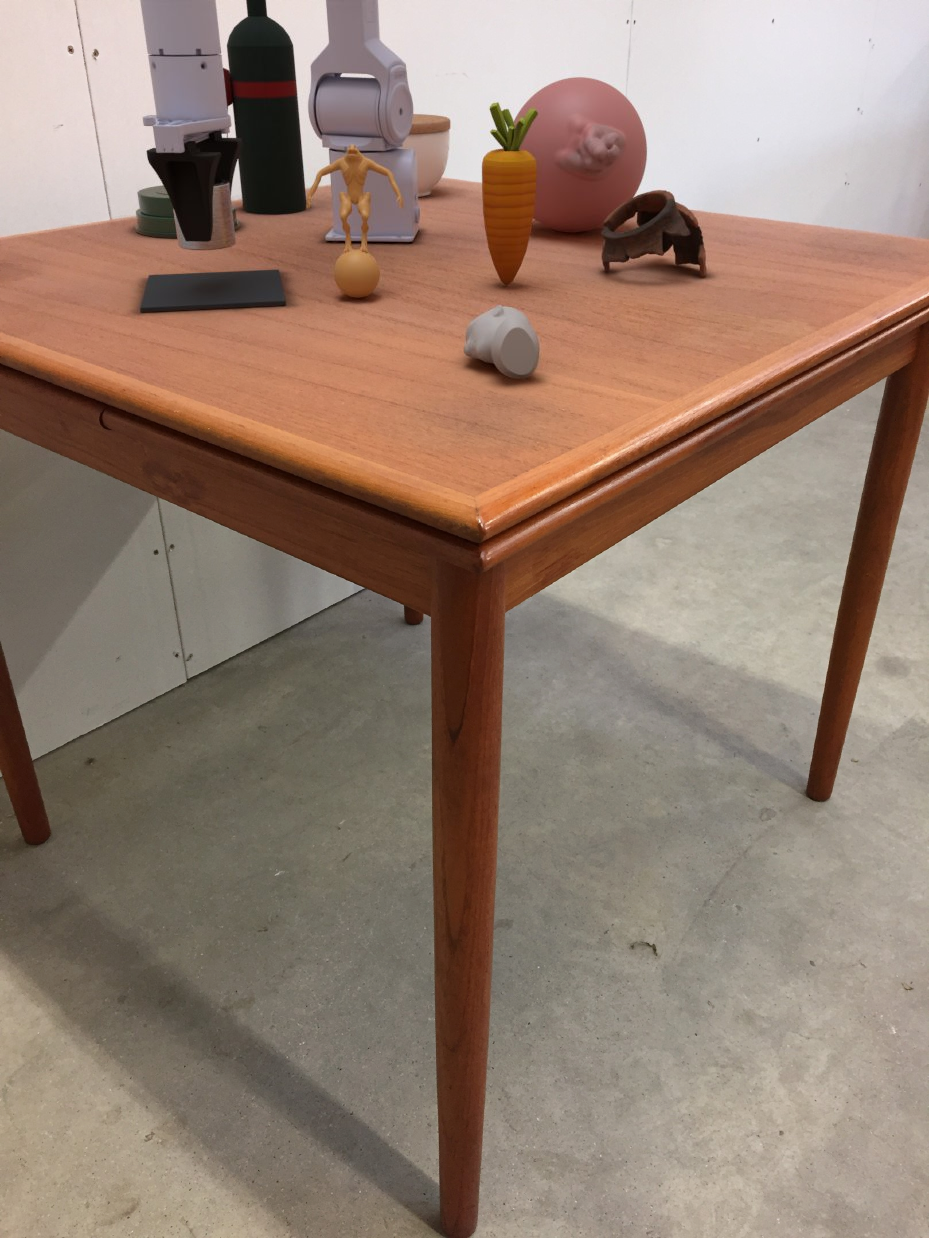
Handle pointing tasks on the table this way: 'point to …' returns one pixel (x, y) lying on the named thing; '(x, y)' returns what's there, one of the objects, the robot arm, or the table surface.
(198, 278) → the mat
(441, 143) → the lidded bowl
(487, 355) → the pale two-lobed sculpture
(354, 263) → the figurine
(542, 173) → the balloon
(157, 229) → the green stepped puck
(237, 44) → the wine bottle
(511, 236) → the carrot
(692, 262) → the broken pot rim
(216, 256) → the table surface
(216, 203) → the silver cup
